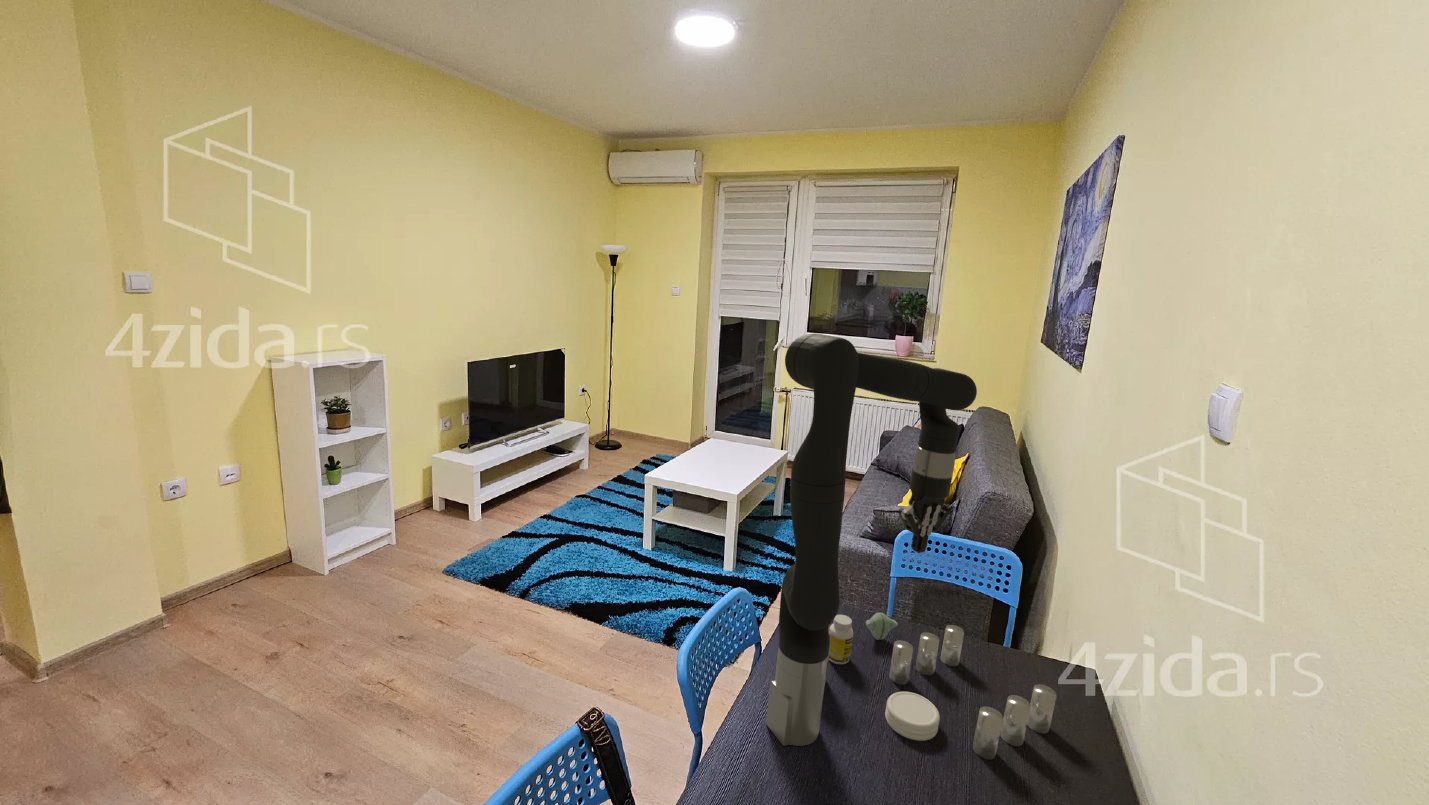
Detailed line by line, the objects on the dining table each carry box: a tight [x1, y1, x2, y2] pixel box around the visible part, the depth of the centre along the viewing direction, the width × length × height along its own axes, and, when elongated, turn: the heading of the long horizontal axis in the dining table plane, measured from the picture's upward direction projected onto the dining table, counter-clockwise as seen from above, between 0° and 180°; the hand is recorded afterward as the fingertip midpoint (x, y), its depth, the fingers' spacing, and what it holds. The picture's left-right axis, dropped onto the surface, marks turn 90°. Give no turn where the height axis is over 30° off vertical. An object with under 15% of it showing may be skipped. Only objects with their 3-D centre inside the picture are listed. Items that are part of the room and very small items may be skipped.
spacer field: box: [888, 624, 1058, 761], centre depth 124 cm, size 20×26×8 cm
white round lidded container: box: [884, 691, 941, 742], centre depth 118 cm, size 10×10×4 cm
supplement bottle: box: [828, 614, 854, 665], centre depth 135 cm, size 5×5×10 cm
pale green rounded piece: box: [865, 612, 899, 641], centre depth 144 cm, size 8×4×7 cm, turn 98°
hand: (918, 550), depth 121 cm, fingers closed
